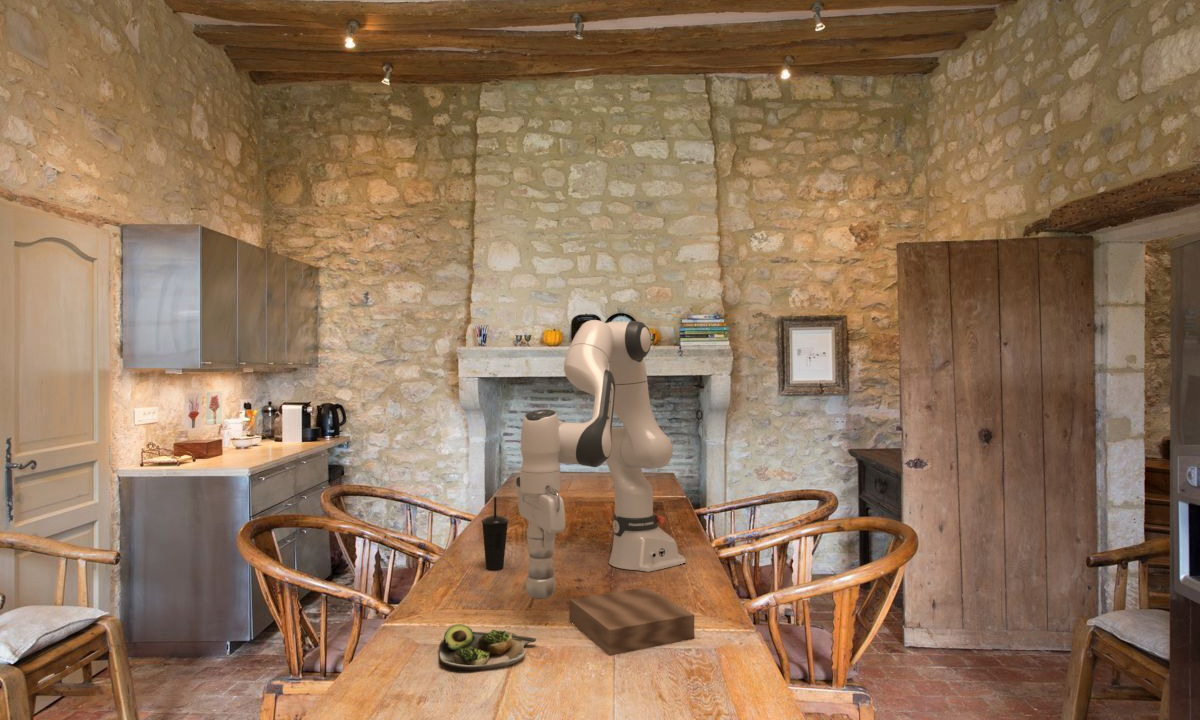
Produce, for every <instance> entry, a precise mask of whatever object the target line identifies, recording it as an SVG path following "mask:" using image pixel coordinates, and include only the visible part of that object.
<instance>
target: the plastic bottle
mask: <svg viewBox="0 0 1200 720" xmlns="http://www.w3.org/2000/svg"><path fill="white" fill-rule="evenodd" d="M532 517H534V518H535V516H534V509H533V515H532ZM556 534H557V533H555V535H554V538H553V541H552V548H551V549H545V548H543V547H542V545H543V544H542V540H544V531H543V529H542V528H540V527H538V526H537V525H536V524H535V522H534V521H532V522H531V523H530V525H528V526H527V529H526V541H527V548H528V570H527V576H526V583H525V590H526V594H527V595H528V597H529V598H532V599H536V600H537V599H538V600H543V599H550V598H551V597H552V596H553V595H554V594H555V591H556V587H557V585H556V577H555V572H554V571H555V569H554V550H555V542H556Z"/></svg>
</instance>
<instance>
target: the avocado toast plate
mask: <svg viewBox="0 0 1200 720" xmlns="http://www.w3.org/2000/svg"><path fill="white" fill-rule="evenodd" d="M536 641H537V638H536V637H531V636H530V637H529V636H522V635H517V633H514V632H510V631H507V630H497V629H492V630H491V631H485V632H483V631H482V632H481V631H473V630H472V629H471V628H470V627H469V626H467V625H465V624H460V623H459V624H458V623H457V624H453V625H452V626H449V627H448V629H447V630H446V631H445V632H444V636H443V639H442V640H441V641H440V643H439V645H438V654H439V656H438V661H439V664H440V665H441V666H442V667H443V668H445V669H447V670H449V671H453V672H459V673H462V672H476V671H484V670H492V669H498V668H504V667H507V666H512V665H513V664H516V663H517V662H519V661H521V660H523V658H524V657H525V656H526V651H525V650H526V649H525V648H524V647H525V645H528V644H530V643H534V642H536ZM502 656H507V657H508V658H509V659H506V660H504V661H500V662H495V663H489V664H488V663H487V662H488V661H489V660H490V659H493V658H496V657H502Z"/></svg>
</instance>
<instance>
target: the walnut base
mask: <svg viewBox="0 0 1200 720" xmlns="http://www.w3.org/2000/svg"><path fill="white" fill-rule="evenodd" d="M568 602H569V611H568V612H569V614H568V615H569V618H568V622H569V621H570V622H569V623H571V624H572V623H573V624H574V625H575V626H576V627H577V628H576V629H577V630H579V631H580V632H581V633H582V634H584V635H585V636H586V637H587V638H588V639H589V640H591V641H592V642H593V643H594V644H596V645H597V646H598V648H600V649H601V650H602V651H603V652H605V653H606V654H607V655H608V656H613V655H617V654H619V655H620V654H622V653H627V652H634V651H639V650H643V649H649V648H652V647H653V648H654V647H658V646H663V645H668V644H669V645H670V644H674V643H679V642H683V641H689V640H694V639H695V613H693V612H691V611H689V610H687V609H685V608H683V606H680V605H678V604H676V603H675V602H674V601H672V600H670V599H669V598H667V597H665V596H663V595H661V594H660V593H658V592H656V591H655V590H653V589H651V588H649V587H648V586H645V587H640V588H633V589H627V590H620V591H613V592H605V593H600V594H594V595H588V596H581V597H574V598H569V601H568ZM573 624H572V625H573ZM574 625H573V626H574ZM575 626H574V627H575Z"/></svg>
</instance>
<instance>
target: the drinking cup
mask: <svg viewBox="0 0 1200 720" xmlns="http://www.w3.org/2000/svg"><path fill="white" fill-rule="evenodd" d="M509 522H510V519H509V518H507V517H505V516H503V515H498V514H497V496H494V497H493V515H489V516H487V517H485V518H482V519H481V524H482V535H483V546H484V547H483V548H484V549H483V551H484V559H485V560H484V561H485V569H486V571H489V570H490V571H489V572H499V571H502V570H503V569H504V564H505V556H506V554H505V553H506V544H507V535H508V534H507V533H508V523H509Z"/></svg>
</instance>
